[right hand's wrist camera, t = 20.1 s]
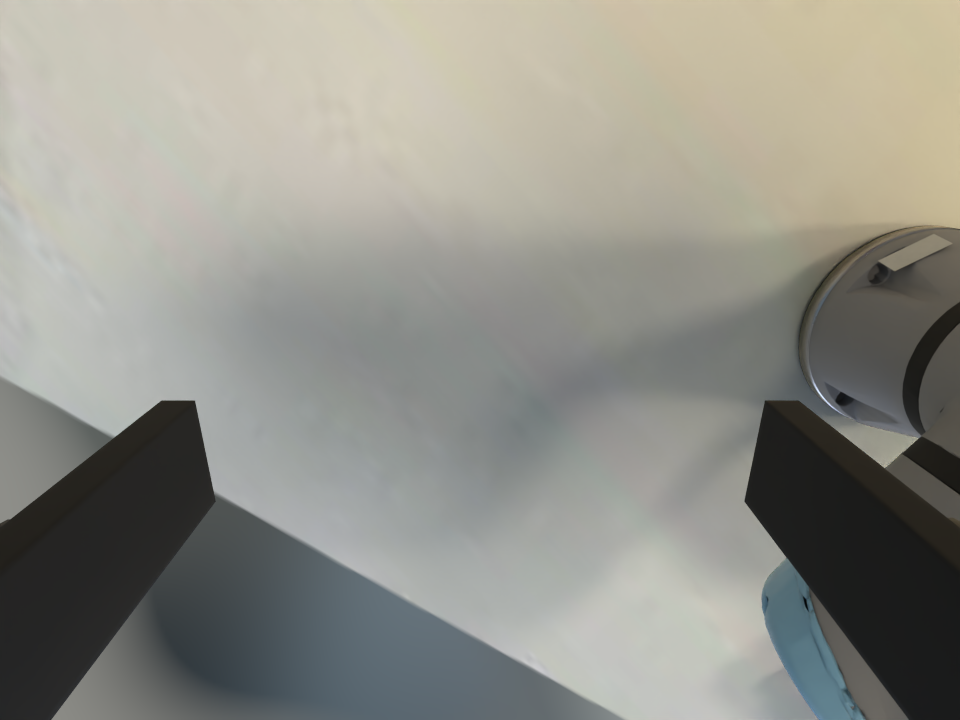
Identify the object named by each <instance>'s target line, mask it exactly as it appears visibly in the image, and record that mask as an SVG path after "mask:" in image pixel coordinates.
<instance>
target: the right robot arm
mask: <svg viewBox="0 0 960 720" xmlns="http://www.w3.org/2000/svg"><path fill="white" fill-rule="evenodd" d="M799 357H800V363H801V367H802V371H803V373H804V376H805V378H806V380H807V382H808V384H809V386H810V387H811V388H812V390H813V391H814V392H815V394H816V395H817V396H818V397H819V398H820V399H821V400H823V401H824V402H825V403H826V404H828V405H829V406H830V407H832V408H833V409H835V410H836V411H838V412H839V413H841V414H842V415H844V416H846V417H848V418H850V419H852V420H855V421H857V422H859V423H862V424H865V425H868V426H871V427H875V428H880V429H884V430H888V431H892V432H896V433H900V434H905V435H909V436H913V437H917V438H919V439H918V440H917V441H916V442H914V443H913V444H912V445H911V446H910V447H909V448H908V449H907V450H906V451H904V452H903V453H902V454H901V455H899V456H898V457H897V458H896V459H895V460H894V461H893V462H892V463H890V464H889V465H888V466H887V467H886V468H883V467H882V466H881V465H880V464H878V463H877V462H876V461H875V460H873V459H872V458H871V457H869V456H868V455H867V454H866V453H864V452H863V451H862V450H861V449H859V448H858V447H857V446H855V445H854V444H853V443H852V442H850V441H849V440H848V439H847V438H845V437H844V436H843V435H841V434H840V433H839V432H838V431H836V430H835V429H834V428H833V427H831V426H830V425H829V424H827V423H826V422H825V421H824V420H822V419H821V418H820V417H819V416H817V415H816V414H815V413H814V412H812V411H811V410H810V409H808V408H807V407H806V406H805V405H803V404H802V403H801V402H800V401H765V404H764V409H763V413H762V418H761V423H760V428H759V433H758V438H757V443H756V448H755V452H754V457H753V462H752V467H751V472H750V477H749V482H748V487H747V491H746V496H745V501H744V502H745V503H746V504H747V505H748V507H749V508H750V509H751V511H752V512H753V513H754V515H755V516H756V517H757V519H758V520H759V521H760V523H761V524H762V525H763V527H764V528H765V529H766V531H767V532H768V533H769V535H770V536H771V537H772V539H773V540H774V541H775V543H776V544H777V545H778V547H779V548H780V549H781V551H782V552H783V553H784V555H785V556H786V557H787V558H786V559H785V560H784V561H783V562H782V563H781V564H780V565H779V566H778V567H777V568H776V569H775V570H774V572H773V573H772V574H771V575H770V576H769V577H768V578H767V580H766V582H765V584H764V587H763V591H762V609H763V613H764V616H765V624H766V627H767V630H768V633H769V635H770V638H771V640H772V643H773V645H774V647H775V649H776V651H777V653H778V655H779V657H780V659H781V661H782V663H783V665H784V667H785V669H786V670H787V672H788V674H789V676H790V677H791V679H792V681H793V682H794V684H795V685H796V687H797V689H798V690H799V692H800V693H801V695H802V696H803V698H804V699H805V701H806V702H807V704H808V705H809V707H810V708H811V709H812V711H813V712H814V714H815V715H816V716H817V718H818V719H819V720H960V229H955V228H949V227H943V226H919V227H912V228H907V229H903V230H898V231H895V232H892V233H889V234H887V235H884V236H882V237H880V238H877V239H875V240H873V241H872V242H870V243H868V244H866V245H864V246H863V247H861V248H860V249H858V250H857V251H855V252H854V253H853V254H851V255H850V256H848V257H847V258H846V259H845V260H844V261H843V262H841V263H840V264H839V265H838V266H837V267H836V268H835V269H834V270H833V271H832V272H831V273H830V275H829V276H828V277H827V278H826V279H825V281H824V282H823V283H822V285H821V286H820V287H819V289H818V290H817V292H816V293H815V295H814V297H813V299H812V300H811V302H810V305H809V307H808V309H807V311H806V314H805V316H804V319H803V323H802V327H801V332H800V338H799ZM214 503H215V496H214V491H213V487H212V482H211V477H210V472H209V467H208V462H207V457H206V452H205V448H204V443H203V438H202V433H201V428H200V423H199V418H198V413H197V409H196V404H195V401H160V402H159V403H158V404H157V405H155V406H154V407H153V408H152V409H150V410H149V411H148V412H146V413H145V414H144V415H143V416H141V417H140V418H139V419H138V420H136V421H135V422H134V423H133V424H131V425H130V426H129V427H127V428H126V429H125V430H124V431H122V432H121V433H120V434H119V435H117V436H116V437H115V438H113V439H112V440H111V441H110V442H108V443H107V444H106V445H105V446H103V447H102V448H101V449H99V450H98V451H97V452H96V453H94V454H93V455H92V456H91V457H89V458H88V459H87V460H86V461H84V462H83V463H82V464H80V465H79V466H78V467H77V468H75V469H74V470H73V471H71V472H70V473H69V474H68V475H66V476H65V477H64V478H63V479H61V480H60V481H59V482H57V483H56V484H55V485H54V486H52V487H51V488H50V489H49V490H47V491H46V492H45V493H44V494H42V495H41V496H40V497H38V498H37V499H36V500H35V501H33V502H32V503H31V504H29V505H28V506H27V507H26V508H24V509H23V510H22V511H21V512H19V513H18V514H17V515H16V516H14V517H13V518H12V519H10V520H6V521H4V522H2V523H0V720H51V719H52V718H53V717H54V715H55V714H56V713H57V711H58V710H59V709H60V707H61V706H62V705H63V703H64V702H65V701H66V699H67V698H68V697H69V695H70V694H71V693H72V691H73V690H74V689H75V687H76V686H77V685H78V683H79V682H80V681H81V679H82V678H83V677H84V675H85V674H86V673H87V671H88V670H89V669H90V668H91V666H92V665H93V664H94V662H95V661H96V660H97V658H98V657H99V656H100V654H101V653H102V652H103V650H104V649H105V648H106V646H107V645H108V644H109V642H110V641H111V640H112V638H113V637H114V636H115V634H116V633H117V632H118V630H119V629H120V628H121V626H122V625H123V624H124V622H125V621H126V620H127V618H128V617H129V616H130V614H131V613H132V612H133V610H134V609H135V608H136V606H137V605H138V604H139V602H140V601H141V600H142V598H143V597H144V596H145V594H146V593H147V592H148V590H149V589H150V588H151V586H152V585H153V584H154V583H155V581H156V580H157V579H158V577H159V576H160V575H161V573H162V572H163V571H164V569H165V568H166V567H167V565H168V564H169V563H170V561H171V560H172V559H173V557H174V556H175V555H176V553H177V552H178V551H179V549H180V548H181V547H182V545H183V544H184V543H185V541H186V540H187V539H188V537H189V536H190V535H191V533H192V532H193V531H194V529H195V528H196V527H197V525H198V524H199V523H200V521H201V520H202V519H203V517H204V516H205V515H206V513H207V512H208V511H209V509H210V508H211V507H212V505H213V504H214Z"/></svg>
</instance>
